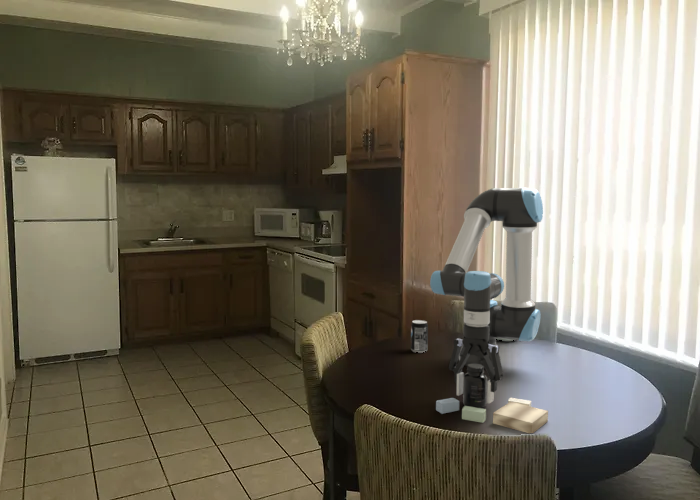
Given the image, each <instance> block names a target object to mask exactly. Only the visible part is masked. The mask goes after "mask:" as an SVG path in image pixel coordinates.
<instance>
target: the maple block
mask: <svg viewBox="0 0 700 500" xmlns="http://www.w3.org/2000/svg"><path fill="white" fill-rule="evenodd" d="M492 415H493V416H492V417H493V418H492V424H493V425H498V426H501V427H505V428H508V429H513V430H516V431H518V432H523V433H527V434H530V433H533V434H534V433H535V432H536V431H538V430H539V429H540V428H542V427H543V426H544V425H545V424H547V423H548V422H549V410H545V409H542V408H537V407H534V406H531V407H530V406H526V405H522V404H518V403H514V402H509V403H508V402H507V403H506V404H505V405H503V406H501V407H500V408H498V409H497V410H495V411H494V412H493V413H492Z"/></svg>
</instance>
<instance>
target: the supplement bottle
mask: <svg viewBox="0 0 700 500" xmlns="http://www.w3.org/2000/svg"><path fill="white" fill-rule="evenodd" d="M466 368H467V369H466V373H464V375H463V395H462V397H463V399H462V400H463V401H462V402H463V405H464V406H469V407H475V408H481V409H484V408H485V407H486V406H487V390H488V377H487V375H486V374H485V370H484V369H485V368H484V366H483V365H481V364H475V363H473V364H468V365H467V366H466Z"/></svg>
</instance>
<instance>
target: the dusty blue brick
mask: <svg viewBox="0 0 700 500" xmlns="http://www.w3.org/2000/svg"><path fill="white" fill-rule="evenodd" d="M435 411H437V412H439V413H440V414H441V415H443V414H446V413H452V412H457V411H458V412H459V411H460V400H458V399H456V398H454V397H449V398H443V399H438V400H436V401H435Z"/></svg>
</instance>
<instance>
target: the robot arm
mask: <svg viewBox="0 0 700 500" xmlns="http://www.w3.org/2000/svg"><path fill="white" fill-rule="evenodd" d="M543 205H544V204H543V200H542V197H541V193H540V192H539V190H537V189H536V188H531V187H530V188H529V187H513V188H512V187H509V188H507V187H506V188H505V187H501V188H500V187H494V188H490V189H487V190H485V191H483V192H481V193H480V194H478V195H477V196H475V198H474V199H473V200H472V201H471V202H470V203H469V204H468V206H467V207H466V209H465V211H464V214H463V219H464V221H463V223H462V226H461V228H460V230H459V232H458V235H457V238H456V239H455V242H454V244H453V246H452V248H451V250H450V252H449V255H448V257H447V260H446V263H445V264H444V266H443V269H442V270H440V269H439V270H435V271H433V272H432V273H431V276H430V281H429V282H430V285H429V286H430V288H431V289H430V290H431V291H432V292H433V293H434V294H437V295H443V296H453V297H454V296H456V297H463V326H462V327H463V331H462V332H463V333H462V334H463V339H461V338H460V337H457V338H455V339H453V350H452V354H451V357H450V361H449V364H448V369H449V371H452V372H453V373H454V379H453V381H454V383H455V384H456V396H458V397H459V396H461V395H462V394H463V385H464V375H465V373H464V372H463V368H464V366H465V367H467V365H468V364H473V363H475V364H481V365H483V366H484V369H485V370H486V373H487V375H488V378H489V380H487V402H486V404H491V403H493V402H494V400H495V392H496V391H497V389H498V381H501V380H503V379H504V378H505V376H504V371H503V367H502V363H501V359H502V358H501V355H500V345H498V344H497V340H496V338H504V339H511V340H514V341H519V342H532V341H533V340H534V339H535V338H536V336H537V334H538V332H539V327H540V323H541V316H542V315H541V310H540V309H537V308H536V303H535V302H534V301H533V300H532V263H533V262H532V261H533V258H532V257H533V256H532V255H533V232H534V230H535V229H537V227H538V223H541V222H542V221H543V214H544V208H543ZM492 222H502V226H501V227H502V228H503V229H504V230H505V231H506V253H505V254H506V259H505V261H506V264H505V266H506V267H505V282H504V279H503V277H501V276H500V275H499V274H497V273H494V272H492V273H491V272H490V273H489V272H488V271H484V270H470V271H469V268H470V265H471V264H472V262H473V258H474V255H475V254H476V251H477V249H478V246H479V244H480V241H481V239H482V237H483V234H484V233H485V230H486V229H487V228H488V227H489V226H490V225H491V223H492ZM504 289H505V298H504V299H503V300H501V302H500V303H501V305H498V301H496V300H494V299H496V298H498V297H499V296H500V295H501V294H502V293H503V292H504Z"/></svg>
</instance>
